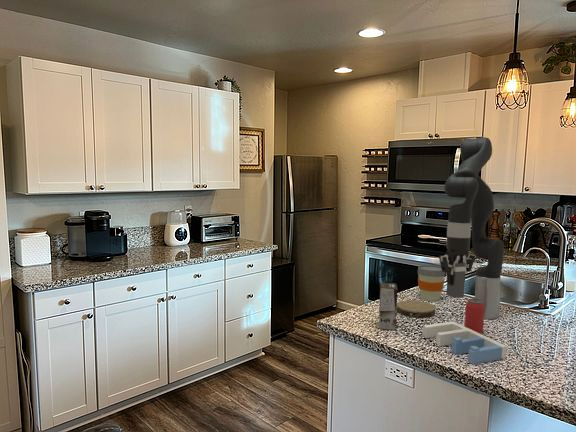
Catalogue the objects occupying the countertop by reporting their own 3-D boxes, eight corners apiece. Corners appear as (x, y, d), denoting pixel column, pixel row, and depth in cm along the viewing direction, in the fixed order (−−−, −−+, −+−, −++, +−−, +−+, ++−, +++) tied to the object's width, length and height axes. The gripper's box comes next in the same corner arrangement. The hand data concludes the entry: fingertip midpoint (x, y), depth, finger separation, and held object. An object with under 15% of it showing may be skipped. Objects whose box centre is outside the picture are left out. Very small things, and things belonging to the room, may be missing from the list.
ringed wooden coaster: (400, 304, 195) (400, 298, 195) (436, 309, 188) (437, 303, 188) (393, 315, 181) (393, 308, 180) (432, 321, 174) (433, 314, 174)
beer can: (482, 329, 165) (484, 299, 164) (484, 335, 159) (485, 304, 157) (463, 327, 167) (465, 297, 166) (464, 333, 161) (466, 302, 159)
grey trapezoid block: (455, 294, 151) (457, 260, 150) (463, 297, 147) (465, 263, 146) (446, 294, 150) (448, 261, 148) (454, 298, 146) (456, 263, 145)
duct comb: (452, 331, 162) (453, 318, 162) (506, 358, 139) (507, 343, 139) (422, 336, 157) (423, 323, 157) (472, 364, 134) (473, 349, 134)
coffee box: (396, 330, 163) (397, 289, 161) (379, 329, 164) (380, 288, 162) (395, 322, 172) (396, 283, 170) (378, 320, 173) (380, 282, 171)
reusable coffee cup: (440, 304, 196) (441, 272, 194) (413, 299, 202) (414, 268, 201) (446, 297, 206) (448, 267, 204) (420, 293, 213) (421, 263, 211)
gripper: (467, 233, 152) (464, 280, 154) (434, 234, 147) (431, 283, 149) (483, 236, 145) (480, 285, 147) (449, 237, 140) (446, 288, 142)
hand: (455, 284), depth 148 cm, fingers closed on grey trapezoid block, 4 cm apart
